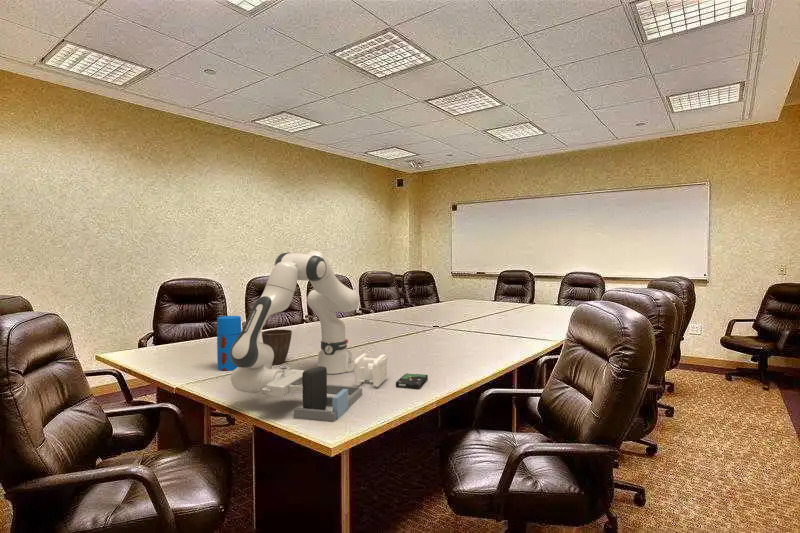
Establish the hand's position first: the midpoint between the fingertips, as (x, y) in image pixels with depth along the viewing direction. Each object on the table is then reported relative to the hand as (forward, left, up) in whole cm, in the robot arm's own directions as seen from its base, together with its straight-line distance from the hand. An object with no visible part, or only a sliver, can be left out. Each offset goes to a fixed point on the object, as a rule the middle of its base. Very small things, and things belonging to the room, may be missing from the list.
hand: (309, 384), depth 151 cm
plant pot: (-59, -47, -10) cm, 76 cm away
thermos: (-44, -64, -10) cm, 78 cm away
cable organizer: (-36, +11, -10) cm, 39 cm away
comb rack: (-7, +4, -9) cm, 12 cm away
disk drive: (-40, +28, -10) cm, 50 cm away
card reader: (0, +2, -10) cm, 10 cm away
